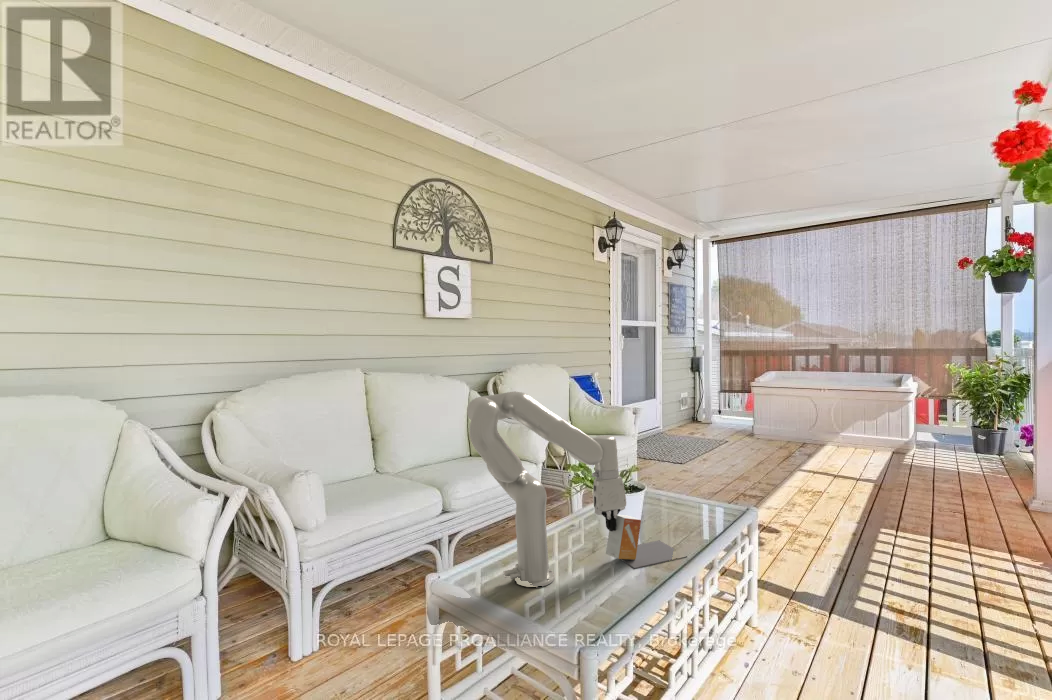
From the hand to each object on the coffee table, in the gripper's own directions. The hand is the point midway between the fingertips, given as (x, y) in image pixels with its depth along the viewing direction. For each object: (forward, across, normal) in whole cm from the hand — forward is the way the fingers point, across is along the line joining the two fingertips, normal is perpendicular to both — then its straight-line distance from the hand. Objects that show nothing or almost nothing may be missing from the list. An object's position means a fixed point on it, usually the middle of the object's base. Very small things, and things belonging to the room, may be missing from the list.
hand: (611, 529), depth 167 cm
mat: (+11, +13, +1) cm, 17 cm away
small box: (+10, +2, 0) cm, 10 cm away
